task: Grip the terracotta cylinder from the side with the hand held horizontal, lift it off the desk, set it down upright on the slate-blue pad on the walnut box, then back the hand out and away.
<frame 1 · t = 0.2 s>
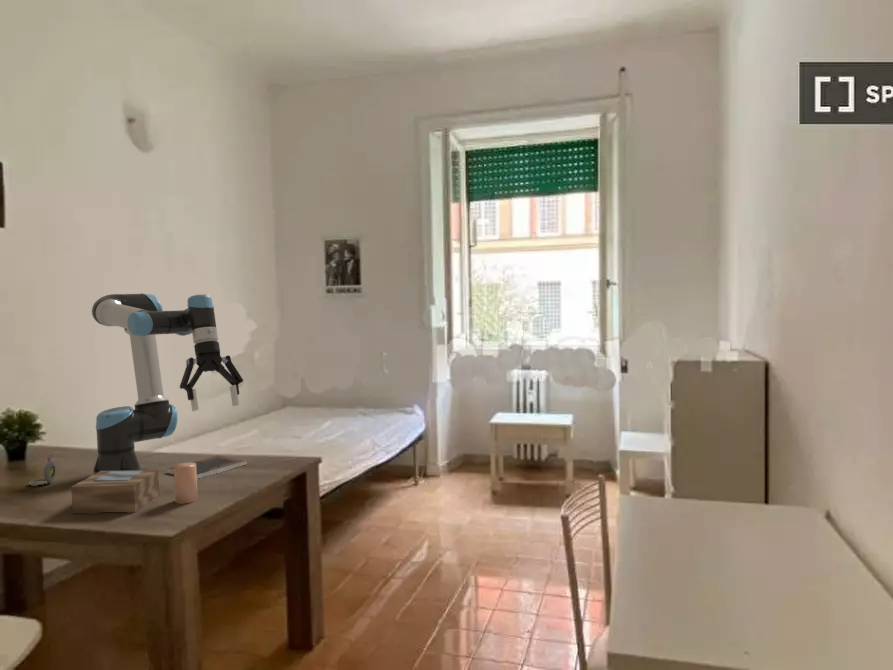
hand: (216, 408, 206), 27 cm above the table, tool tilted 15°, fingers open, 13 cm apart
pocket watch: (43, 484, 220), on the table
picture frame: (207, 471, 237), on the table
terracotta cylinder: (186, 500, 200), on the table
walnut box: (118, 503, 198), on the table
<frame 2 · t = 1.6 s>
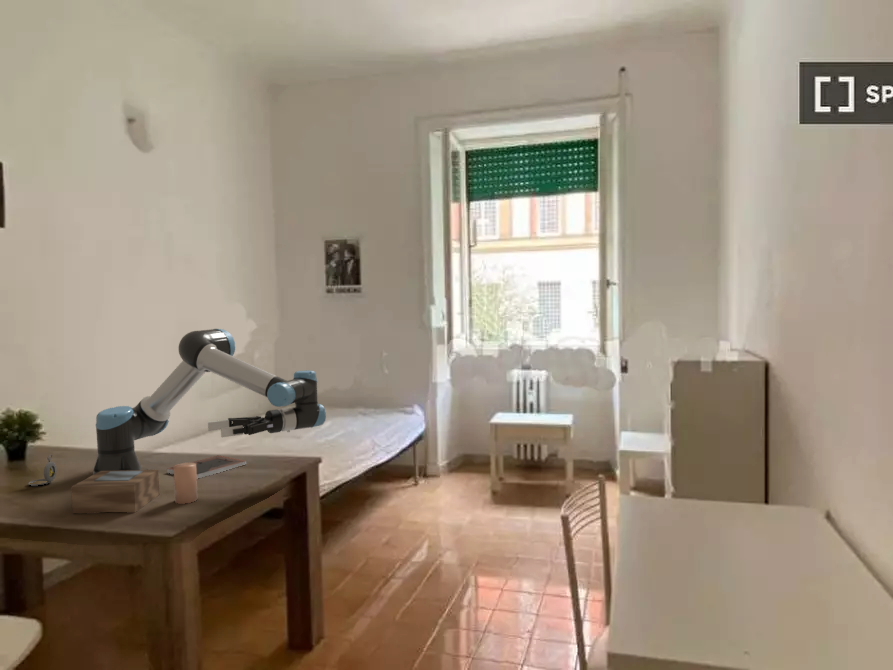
hand: (214, 429, 204), 21 cm above the table, tool horizontal, fingers open, 13 cm apart
nothing on the table moved.
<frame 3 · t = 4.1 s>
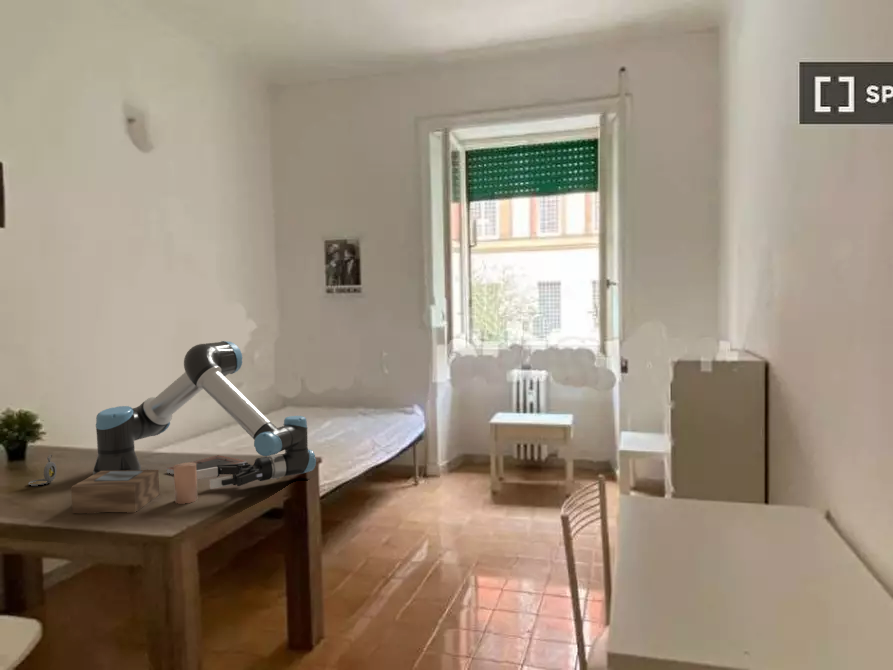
hand: (203, 479, 202), 6 cm above the table, tool horizontal, fingers open, 13 cm apart
nothing on the table moved.
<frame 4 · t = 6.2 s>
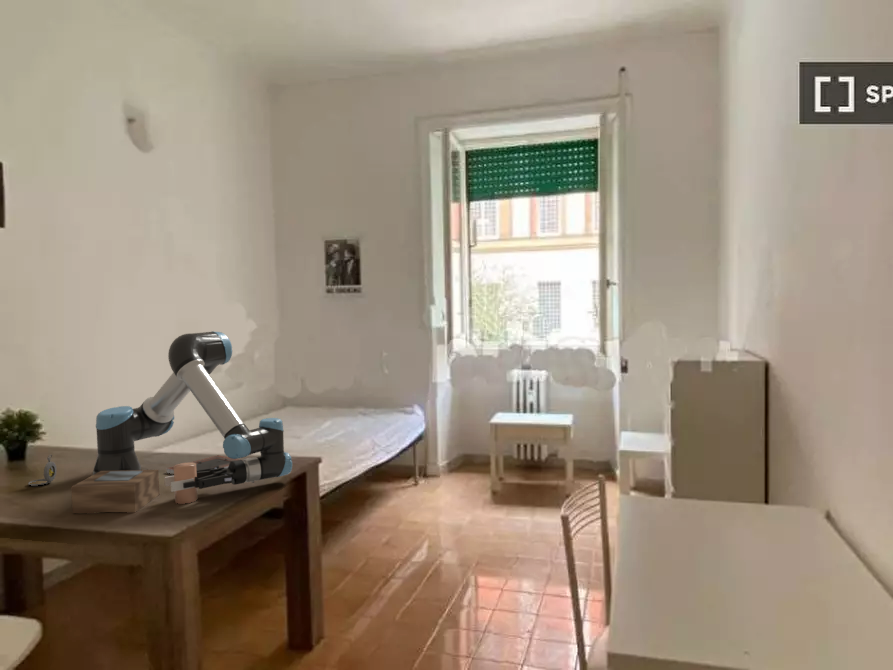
hand: (168, 484, 196), 6 cm above the table, tool horizontal, fingers closed on terracotta cylinder, 6 cm apart
terracotta cylinder: (186, 500, 200), on the table, touching gripper
everything else where it was.
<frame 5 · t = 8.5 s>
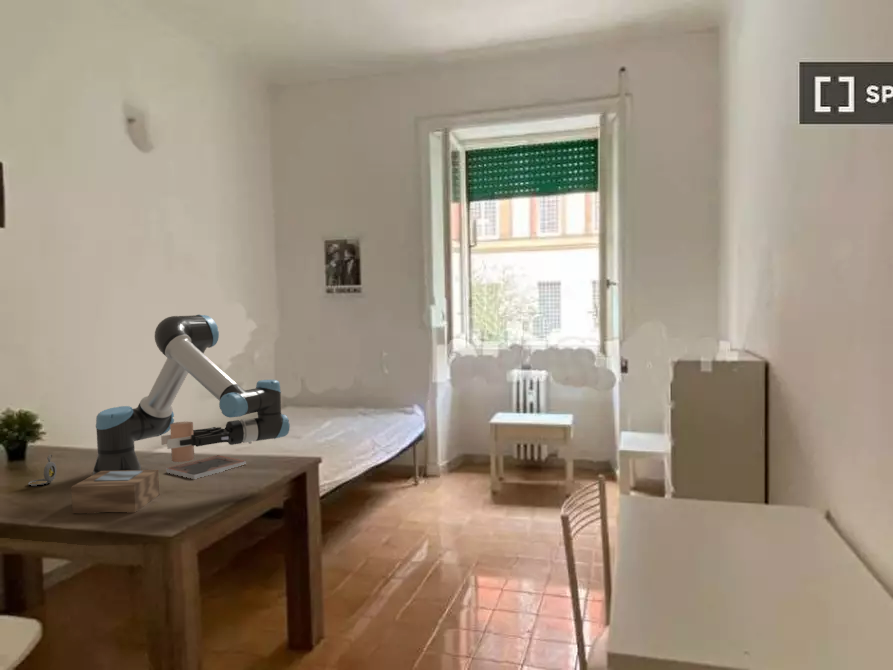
hand: (164, 442, 196), 19 cm above the table, tool horizontal, fingers closed on terracotta cylinder, 6 cm apart
terracotta cylinder: (183, 459, 199), point 13 cm above the table, touching gripper
everything else where it was.
when the fingers open (16 cm above the table, at t = 11.0 s): terracotta cylinder drops 2 cm, resting on walnut box.
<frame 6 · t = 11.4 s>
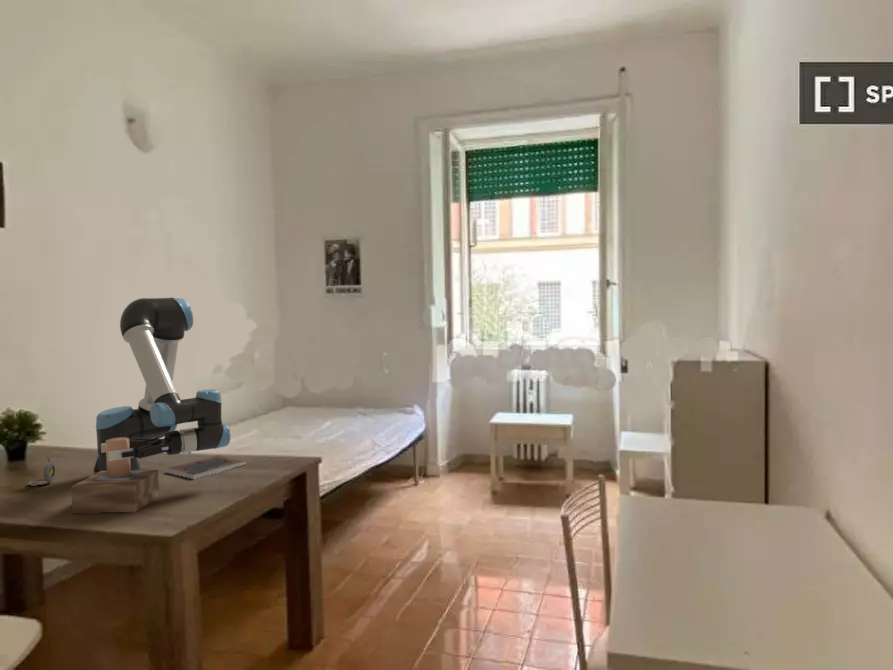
hand: (104, 452, 196), 16 cm above the table, tool horizontal, fingers open, 12 cm apart
terracotta cylinder: (119, 475, 199), point 8 cm above the table, touching walnut box
everything else where it was.
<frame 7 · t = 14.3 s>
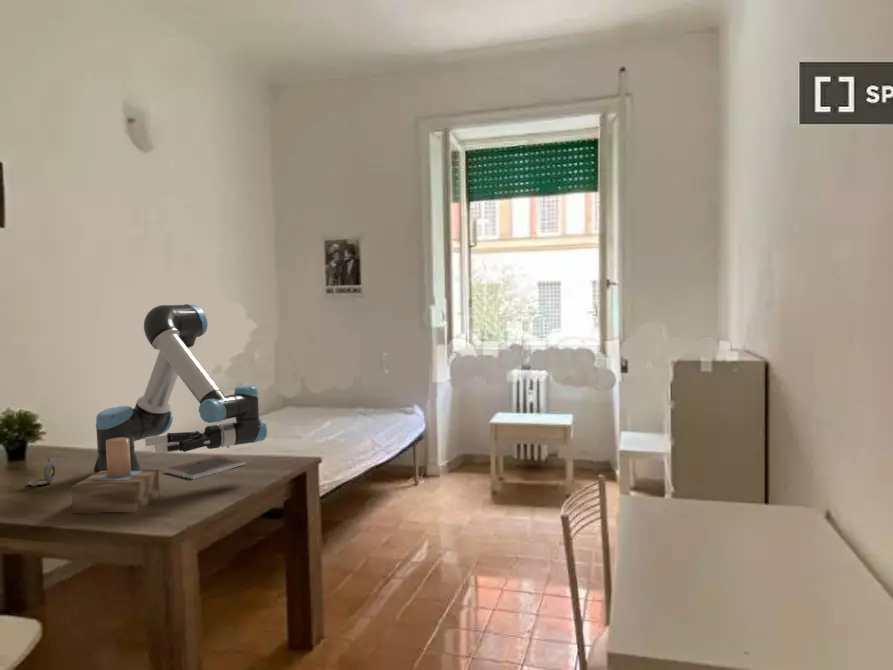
hand: (150, 445, 204), 16 cm above the table, tool horizontal, fingers open, 13 cm apart
nothing on the table moved.
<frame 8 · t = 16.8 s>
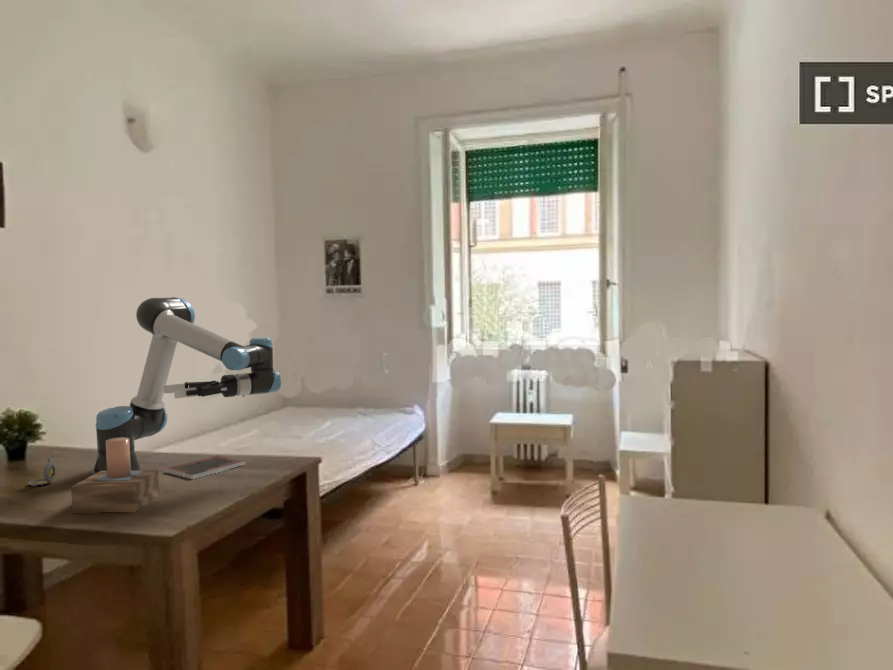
hand: (169, 391, 210), 32 cm above the table, tool horizontal, fingers open, 13 cm apart
nothing on the table moved.
at the end: terracotta cylinder inside the target area (0.0 cm from its centre), point 8.3 cm above the table; terracotta cylinder tilted 0°; the gripper is holding nothing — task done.
